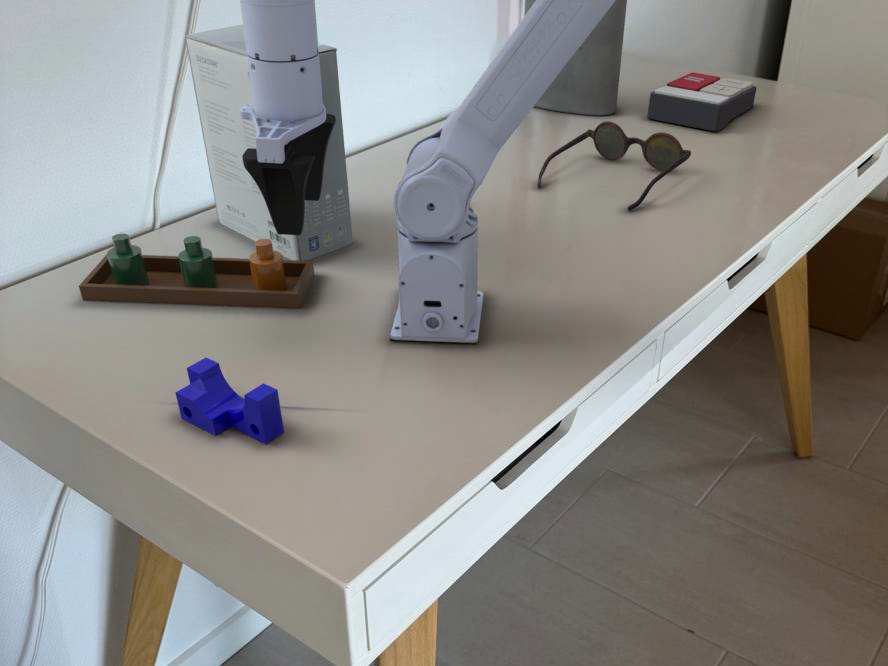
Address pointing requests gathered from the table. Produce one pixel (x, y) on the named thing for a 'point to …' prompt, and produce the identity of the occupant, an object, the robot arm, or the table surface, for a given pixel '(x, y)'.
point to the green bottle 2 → (197, 264)
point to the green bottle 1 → (127, 262)
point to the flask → (590, 69)
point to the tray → (171, 290)
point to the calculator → (701, 101)
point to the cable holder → (228, 404)
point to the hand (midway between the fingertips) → (299, 215)
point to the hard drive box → (229, 136)
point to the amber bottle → (267, 267)
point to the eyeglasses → (614, 144)
